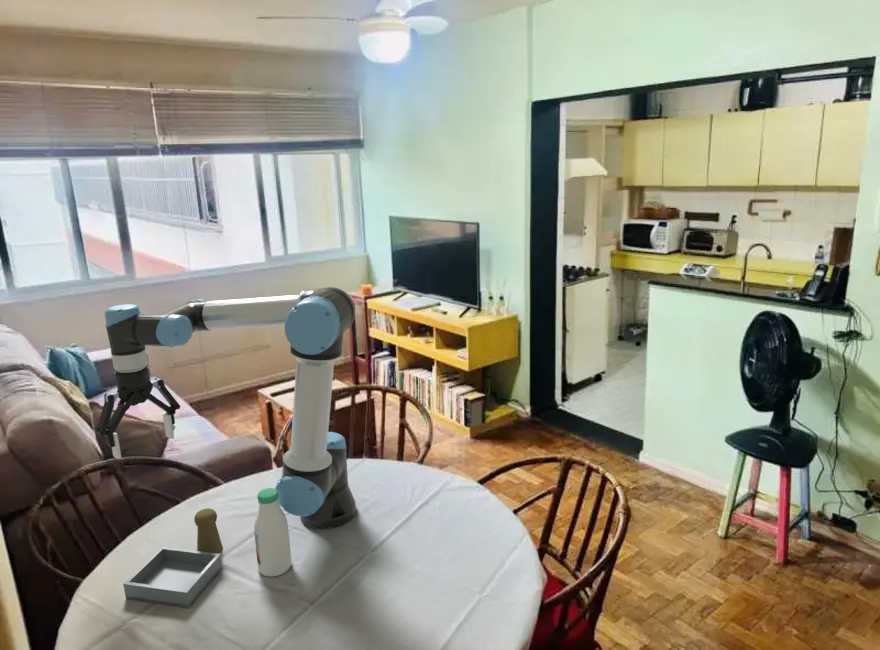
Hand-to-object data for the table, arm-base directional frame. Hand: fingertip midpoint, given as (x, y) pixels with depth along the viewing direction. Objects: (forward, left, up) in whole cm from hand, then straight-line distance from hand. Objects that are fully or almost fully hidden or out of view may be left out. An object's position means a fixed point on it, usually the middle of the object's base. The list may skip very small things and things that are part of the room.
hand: (144, 447), depth 155 cm
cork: (-19, +6, -24) cm, 31 cm away
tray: (-18, +18, -24) cm, 35 cm away
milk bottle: (-38, +9, -24) cm, 46 cm away
